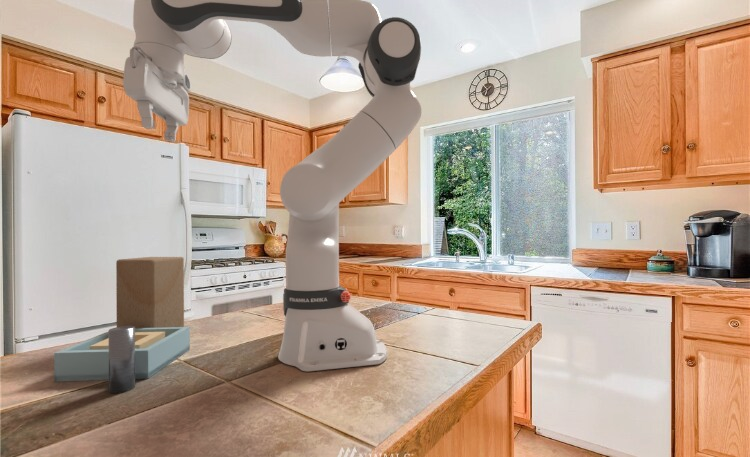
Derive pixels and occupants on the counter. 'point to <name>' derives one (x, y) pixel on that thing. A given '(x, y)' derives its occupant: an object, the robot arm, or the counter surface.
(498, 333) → the counter surface
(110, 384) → the peg
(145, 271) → the wooden block
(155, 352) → the bin
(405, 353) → the counter surface
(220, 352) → the counter surface
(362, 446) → the counter surface
